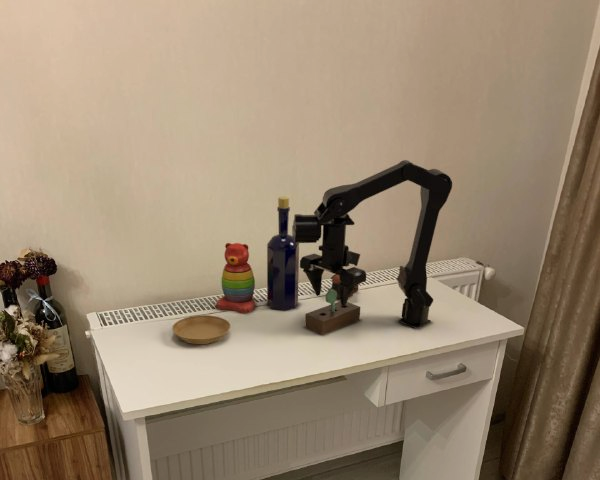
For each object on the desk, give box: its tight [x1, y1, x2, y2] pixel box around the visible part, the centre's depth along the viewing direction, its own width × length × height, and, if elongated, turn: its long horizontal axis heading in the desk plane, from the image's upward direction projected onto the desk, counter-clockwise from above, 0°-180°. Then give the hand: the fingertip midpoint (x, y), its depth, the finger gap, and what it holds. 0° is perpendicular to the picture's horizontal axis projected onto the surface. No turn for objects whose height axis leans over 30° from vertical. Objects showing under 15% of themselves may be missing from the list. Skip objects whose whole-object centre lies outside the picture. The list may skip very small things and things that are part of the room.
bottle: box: [266, 196, 300, 311], centre depth 169 cm, size 9×9×30 cm
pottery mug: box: [327, 274, 359, 300], centre depth 182 cm, size 12×10×8 cm
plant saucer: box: [171, 314, 232, 345], centre depth 157 cm, size 15×15×3 cm
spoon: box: [325, 288, 338, 312], centre depth 163 cm, size 1×4×10 cm, turn 134°
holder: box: [304, 300, 361, 336], centre depth 165 cm, size 6×15×4 cm, turn 134°
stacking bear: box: [215, 242, 256, 314], centre depth 171 cm, size 11×10×18 cm
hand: (330, 300), depth 161 cm, fingers open, 9 cm apart
